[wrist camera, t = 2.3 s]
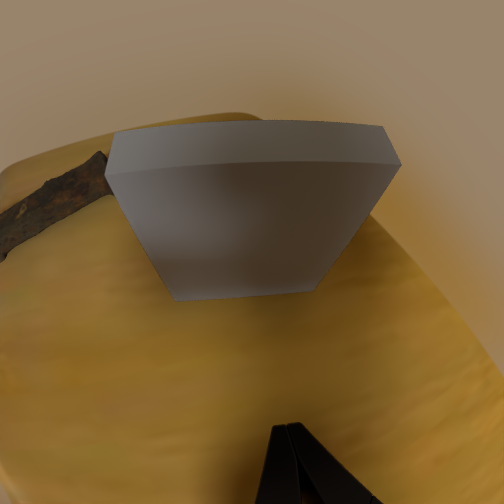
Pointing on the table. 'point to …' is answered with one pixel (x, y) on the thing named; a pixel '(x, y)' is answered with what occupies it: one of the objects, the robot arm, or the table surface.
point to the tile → (248, 200)
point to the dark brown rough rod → (53, 202)
